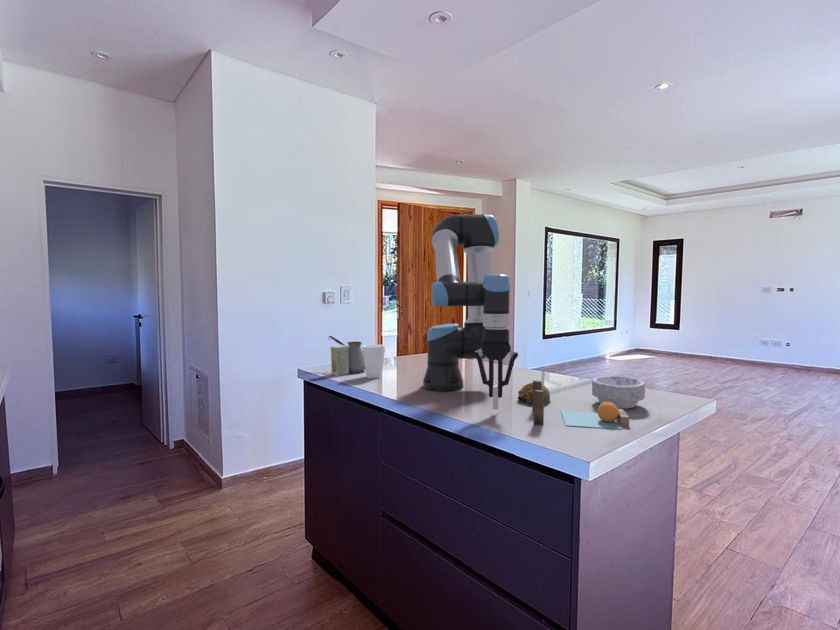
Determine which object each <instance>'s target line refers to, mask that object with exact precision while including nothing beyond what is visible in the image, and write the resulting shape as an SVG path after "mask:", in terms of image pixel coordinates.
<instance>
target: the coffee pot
mask: <svg viewBox="0 0 840 630" xmlns="http://www.w3.org/2000/svg"><path fill="white" fill-rule="evenodd" d="M329 338H330V339H329ZM327 340H330V341H331V340H333V341H334V342H336V343H337V344H339V345H340V346H341V345H344V346H348V363H349V374H350V373H351V374H352V373H353V374H354V373H357V372H358V373H362V371H363V372H364V371H366V370H365V363H364V356H363V352H362V347H361V346H362V344H363V342H362V341H348V342H347V345H346V344H344V343H343V342H341V341H340V340H339V339H337V338H335V337H334V336H332V335H329V336H328V337H327Z"/></svg>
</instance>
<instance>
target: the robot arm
mask: <svg viewBox="0 0 840 630" xmlns="http://www.w3.org/2000/svg"><path fill="white" fill-rule="evenodd" d="M499 233H500V232H499V225H498V221H497V219H496V217H495V216H494V215H493V214H484V213H479V214H473V213H472V214H459V213H458V214H451V215H447V216H446V217H444V218H443V219H441V220H440V221H439V222H438V223H437V224H436V225H435V226H434V228H433V230H432V233H431V245H432V248H433V249H434V256H435V271H436V272H435V273H436V274H435V275H436V281H435V282H434V281H433V282H432V283H431V303H432V304H431V305H433V306H435V307H444V308H446V307H467V313H468V316H467V319H466V320H465V321H464V323H463V327H460V324H459V323H445V324H439V325H438V324H437V325H433V326H430V327H429V329H428V330H427V338H426V341H427V367H426V370H425V373H424V375H423V379H422V387H423V389H425V390H430V391H435V392H436V391H437V392H451V391H452V392H453V391H458V390H462V389H463V388H464V378H463V375H462V373H461V369H460V365H459V363H460V362H459V361H460V359H461V360H467V359H468V360H469V359H470V360H472V359H473V360H474V359H475V360H476V361H477V364H478V365H477V366H478V368H479V373H480V377H481V380H482V381H481V382H482V384H483V385H487V386H488V397H489V398H492V410H496V411H497V410H499V398H500V399H501V398H503V387H504V386H508V385H509V383H510V379H511V376H512V371H513V367H514V364H515V361H516V359H517V358H518V357H519V352H518V351H515V350H514V349H512V347H511V345H510V344H511V343H510V329H509V327H510V294H511V293H510V292H511V291H510V289H511V285H510V283H511V282H510V276H509V275H508V274H491V272H492V271H491V267H492V266H491V254H492V253H493V252H494V251H495V247H496V246H498V245H499V241H500V240H499V239H500V238H499V236H500V235H499ZM459 246H460V247H463V249H462V251H463V253H465V254H466V255H467V256H466V257H467V281H461V276H460V275H461V274H460V267H459V261H458V258H459V257H458V251H457V247H459ZM508 354H509V358H510V359H509V362H508V366H507V370H506V373H505V377H504V380H503V375H504V374H503V369H504V368H503V362H504V359H505V358H506V357H507V356H508ZM485 359H488V377H487V373H486V369H485V365H484V361H483V360H485ZM495 361H497V384H495V385H494V383H495V382H494V378H495V377H494V374H495V371H494V370H495V368H494V364H495V363H494V362H495Z"/></svg>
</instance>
